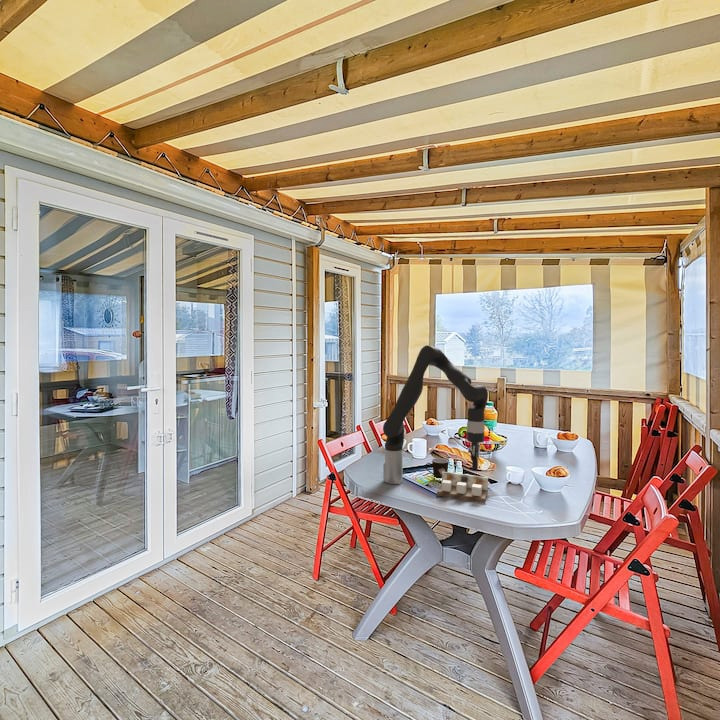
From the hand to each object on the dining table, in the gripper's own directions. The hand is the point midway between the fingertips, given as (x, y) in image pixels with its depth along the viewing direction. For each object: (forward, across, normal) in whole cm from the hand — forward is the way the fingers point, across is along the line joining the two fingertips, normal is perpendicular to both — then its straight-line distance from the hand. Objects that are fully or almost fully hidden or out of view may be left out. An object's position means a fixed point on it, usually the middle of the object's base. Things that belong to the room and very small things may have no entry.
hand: (475, 468), depth 185 cm
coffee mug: (+17, -28, -23) cm, 40 cm away
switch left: (+14, -8, -14) cm, 21 cm away
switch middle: (+14, -7, -7) cm, 18 cm away
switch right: (+14, -8, 0) cm, 16 cm away
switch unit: (+17, -10, -7) cm, 21 cm away
